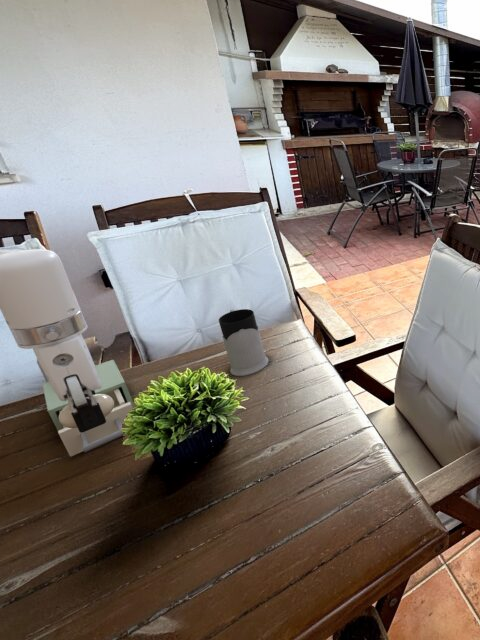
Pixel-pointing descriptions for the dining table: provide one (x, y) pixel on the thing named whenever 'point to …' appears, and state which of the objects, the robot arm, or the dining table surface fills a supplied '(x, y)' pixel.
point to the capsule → (102, 399)
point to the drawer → (97, 428)
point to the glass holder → (243, 342)
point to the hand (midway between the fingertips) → (90, 419)
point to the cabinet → (109, 382)
